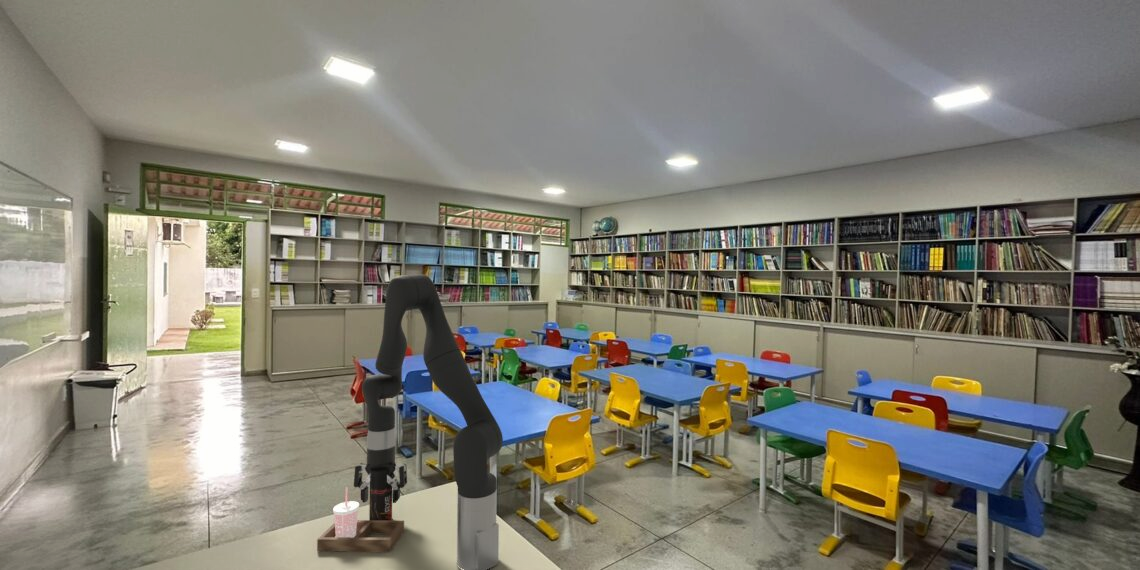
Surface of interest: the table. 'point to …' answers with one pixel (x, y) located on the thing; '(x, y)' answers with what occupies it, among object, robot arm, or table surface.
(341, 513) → the beverage cup
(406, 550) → the table surface
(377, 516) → the deodorant
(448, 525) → the table surface
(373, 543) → the divided wooden tray
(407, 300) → the robot arm
